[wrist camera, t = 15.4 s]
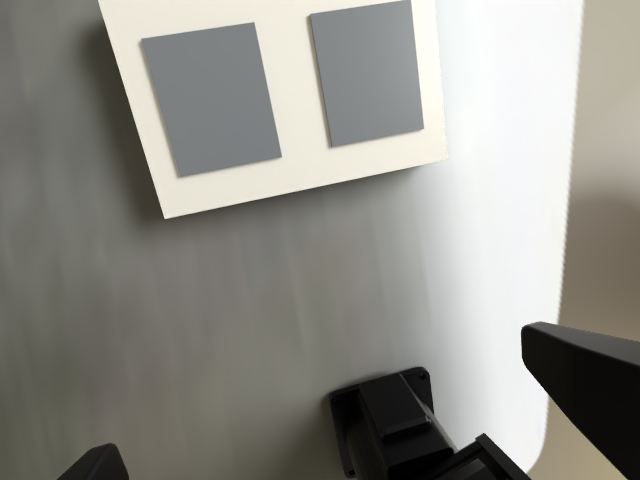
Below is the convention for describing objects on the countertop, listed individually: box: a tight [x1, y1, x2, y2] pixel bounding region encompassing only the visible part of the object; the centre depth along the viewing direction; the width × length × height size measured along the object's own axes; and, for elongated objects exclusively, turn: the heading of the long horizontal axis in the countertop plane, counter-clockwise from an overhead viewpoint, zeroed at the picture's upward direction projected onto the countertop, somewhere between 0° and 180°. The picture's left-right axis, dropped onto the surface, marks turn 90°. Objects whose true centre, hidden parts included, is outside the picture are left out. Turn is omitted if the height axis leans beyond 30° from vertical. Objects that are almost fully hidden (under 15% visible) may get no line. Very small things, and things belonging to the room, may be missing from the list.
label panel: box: [98, 0, 448, 219], centre depth 18 cm, size 9×14×2 cm, turn 101°
